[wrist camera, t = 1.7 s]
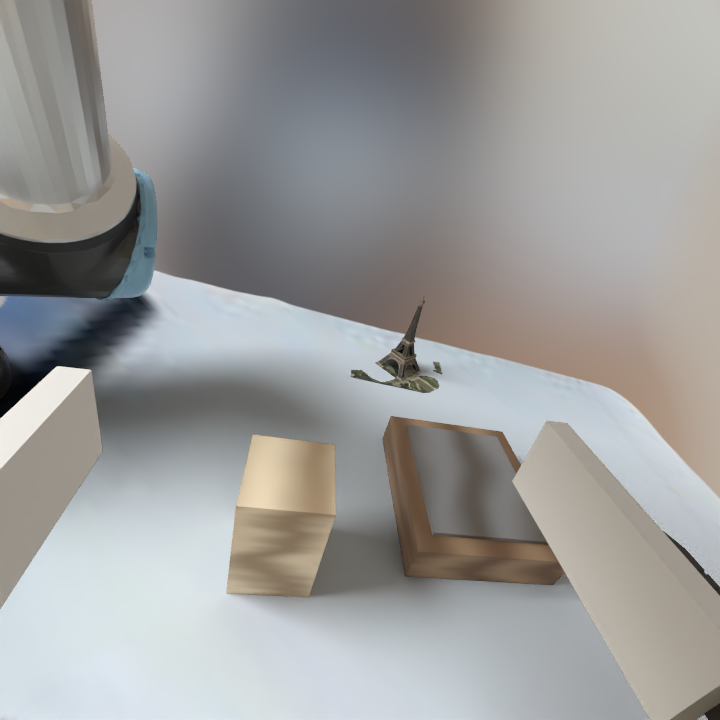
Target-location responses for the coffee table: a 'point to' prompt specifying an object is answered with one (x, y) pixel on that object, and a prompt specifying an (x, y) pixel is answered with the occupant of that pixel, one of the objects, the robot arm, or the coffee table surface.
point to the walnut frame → (462, 506)
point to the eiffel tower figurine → (405, 364)
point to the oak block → (282, 517)
